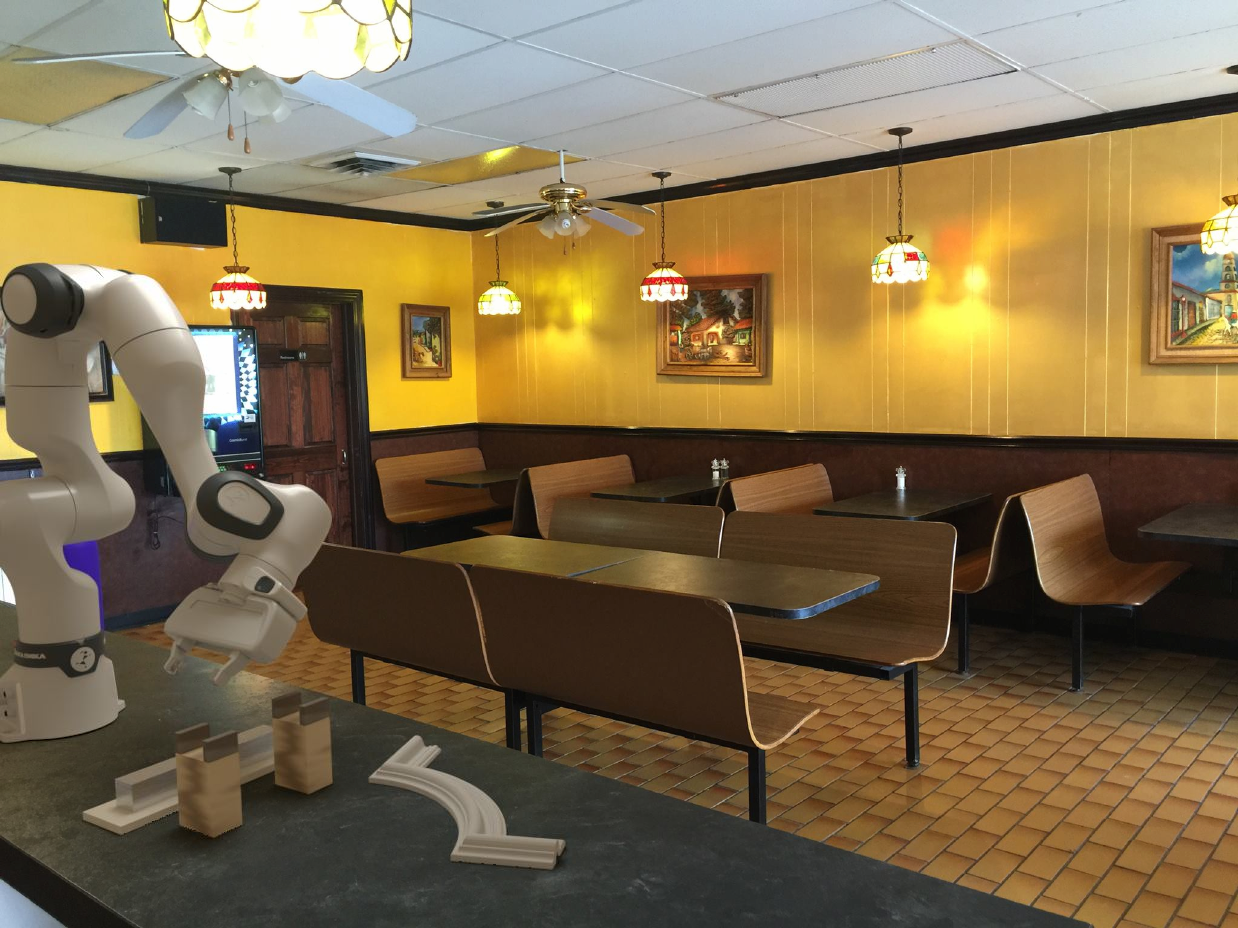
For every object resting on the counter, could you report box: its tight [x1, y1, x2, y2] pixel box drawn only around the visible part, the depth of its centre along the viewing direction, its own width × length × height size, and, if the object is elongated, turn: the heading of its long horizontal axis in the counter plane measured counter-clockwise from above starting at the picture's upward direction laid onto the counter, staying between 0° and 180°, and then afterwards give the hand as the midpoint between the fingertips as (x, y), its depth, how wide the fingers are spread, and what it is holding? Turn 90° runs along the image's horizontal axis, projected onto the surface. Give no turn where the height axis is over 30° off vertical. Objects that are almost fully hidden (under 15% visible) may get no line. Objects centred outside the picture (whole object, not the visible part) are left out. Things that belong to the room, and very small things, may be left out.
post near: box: [174, 722, 243, 839], centre depth 119 cm, size 6×4×12 cm, turn 58°
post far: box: [271, 690, 333, 795], centre depth 131 cm, size 6×4×12 cm, turn 58°
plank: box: [82, 756, 275, 836], centre depth 131 cm, size 8×28×1 cm, turn 148°
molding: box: [368, 734, 566, 870], centre depth 124 cm, size 42×12×3 cm, turn 34°
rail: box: [114, 723, 274, 813], centre depth 131 cm, size 4×22×4 cm, turn 148°
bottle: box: [63, 540, 106, 638], centre depth 193 cm, size 8×8×30 cm
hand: (192, 678), depth 129 cm, fingers open, 8 cm apart
